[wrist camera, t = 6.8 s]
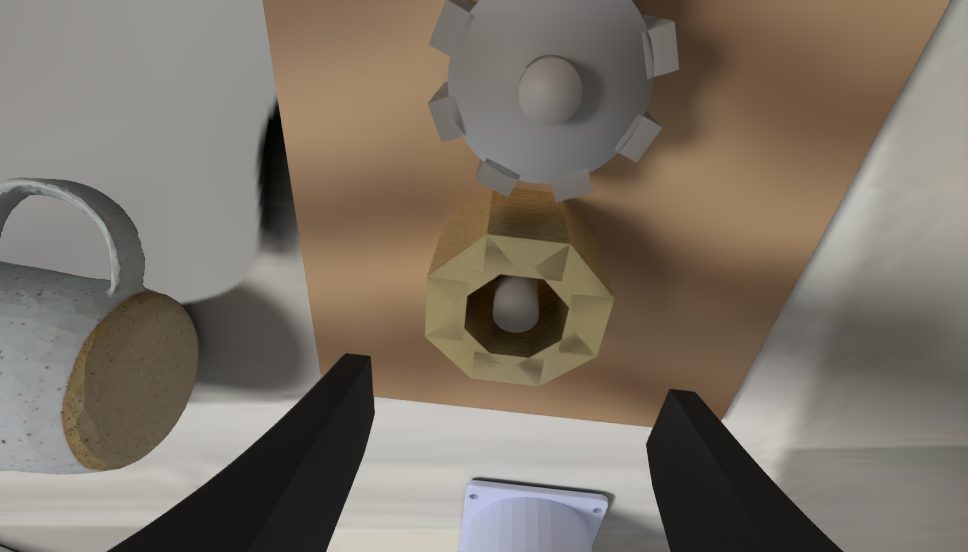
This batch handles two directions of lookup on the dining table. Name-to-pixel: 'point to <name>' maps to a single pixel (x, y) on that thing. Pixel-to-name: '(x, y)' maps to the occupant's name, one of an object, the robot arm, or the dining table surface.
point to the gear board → (642, 214)
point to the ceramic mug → (88, 351)
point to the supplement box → (3, 551)
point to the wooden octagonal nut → (526, 253)
